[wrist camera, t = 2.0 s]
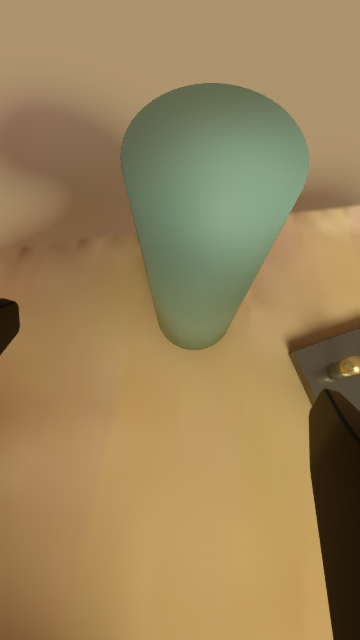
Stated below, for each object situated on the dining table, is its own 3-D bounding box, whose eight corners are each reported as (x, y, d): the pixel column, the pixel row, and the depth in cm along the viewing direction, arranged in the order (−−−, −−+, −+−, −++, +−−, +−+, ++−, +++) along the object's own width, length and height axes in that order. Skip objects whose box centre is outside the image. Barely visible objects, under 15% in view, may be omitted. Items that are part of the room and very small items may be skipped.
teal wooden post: (171, 360, 21) (153, 260, 8) (148, 293, 22) (99, 108, 9) (241, 336, 21) (342, 201, 8) (214, 272, 23) (263, 66, 9)
